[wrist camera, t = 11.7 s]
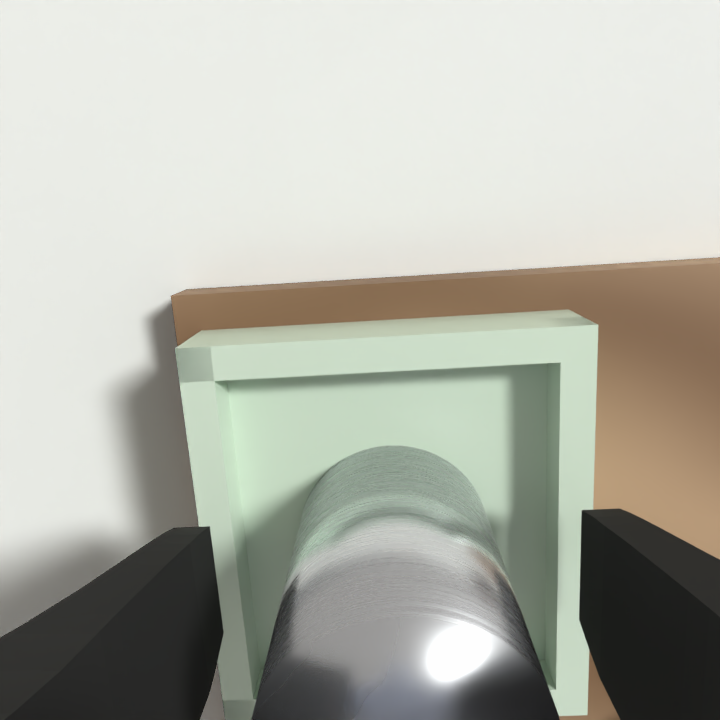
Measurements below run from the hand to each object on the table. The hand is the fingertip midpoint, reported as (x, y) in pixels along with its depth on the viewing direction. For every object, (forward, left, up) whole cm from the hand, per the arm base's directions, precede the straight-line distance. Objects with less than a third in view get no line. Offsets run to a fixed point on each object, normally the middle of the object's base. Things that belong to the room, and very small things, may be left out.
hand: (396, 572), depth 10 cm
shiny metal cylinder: (0, 0, -2) cm, 2 cm away
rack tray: (0, 0, -2) cm, 2 cm away
